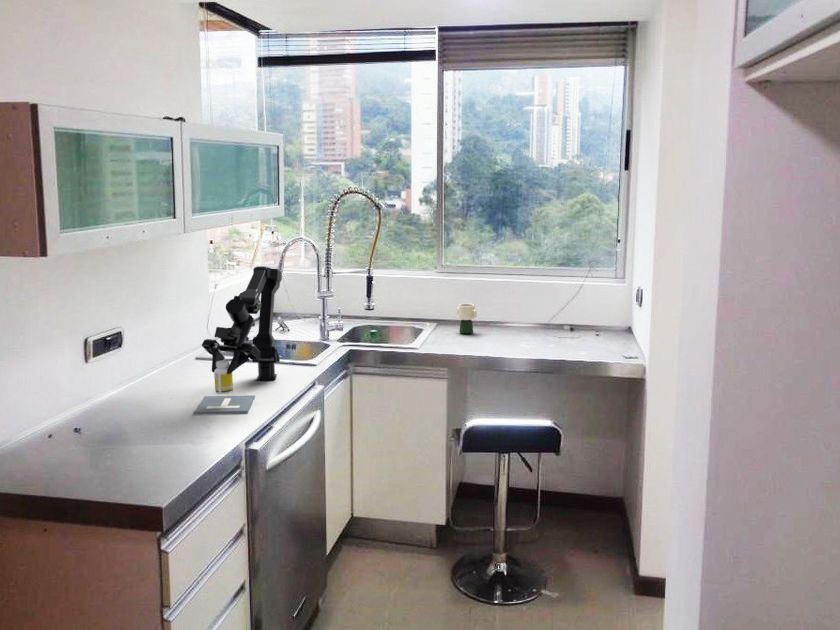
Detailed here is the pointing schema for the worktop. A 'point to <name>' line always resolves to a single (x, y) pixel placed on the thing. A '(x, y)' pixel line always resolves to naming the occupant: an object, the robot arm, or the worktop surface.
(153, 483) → the worktop surface
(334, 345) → the worktop surface
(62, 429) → the worktop surface
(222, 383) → the supplement bottle
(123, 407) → the worktop surface
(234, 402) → the letter board
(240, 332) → the robot arm
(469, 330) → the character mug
